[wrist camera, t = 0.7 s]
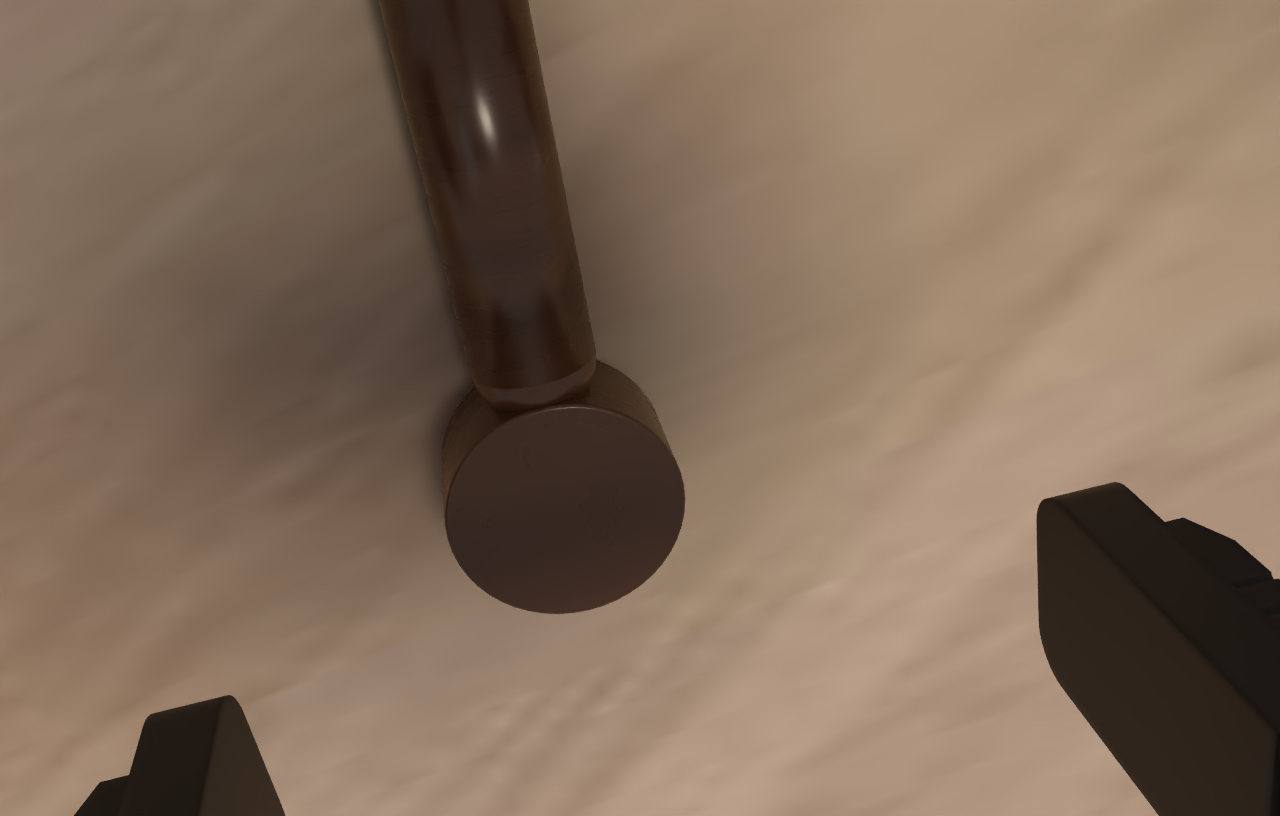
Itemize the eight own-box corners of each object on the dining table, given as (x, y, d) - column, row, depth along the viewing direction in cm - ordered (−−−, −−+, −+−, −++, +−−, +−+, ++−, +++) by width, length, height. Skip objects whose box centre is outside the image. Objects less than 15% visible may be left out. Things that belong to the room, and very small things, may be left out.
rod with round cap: (269, -168, 21) (252, -166, 19) (550, -218, 22) (566, -222, 20) (469, 572, 29) (475, 638, 26) (677, 523, 29) (701, 585, 27)
